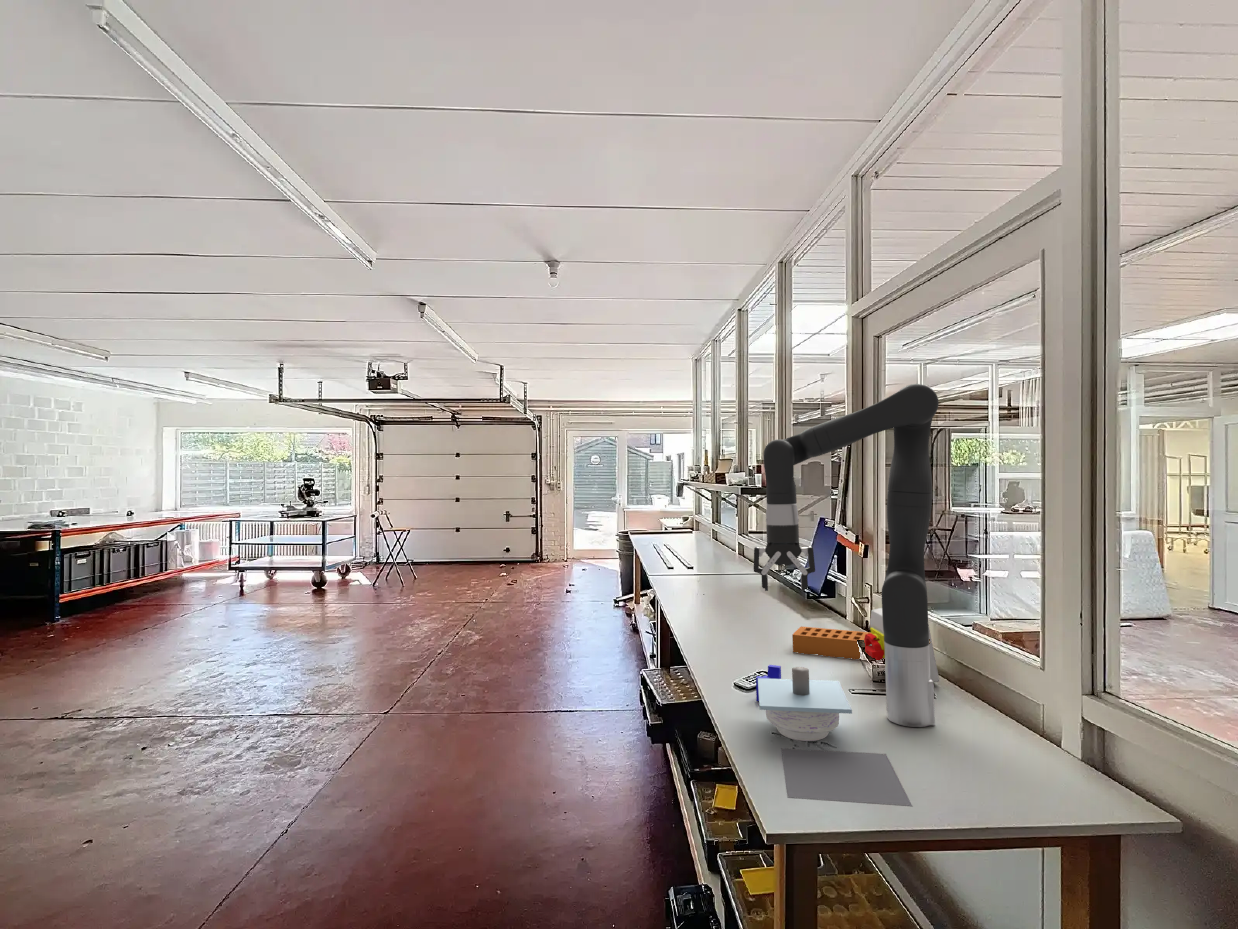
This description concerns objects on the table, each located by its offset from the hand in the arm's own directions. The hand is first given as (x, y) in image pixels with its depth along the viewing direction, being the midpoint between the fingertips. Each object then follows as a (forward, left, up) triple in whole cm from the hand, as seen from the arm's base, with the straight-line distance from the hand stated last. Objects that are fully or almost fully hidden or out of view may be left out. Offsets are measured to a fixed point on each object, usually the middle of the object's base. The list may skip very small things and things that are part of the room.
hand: (784, 590), depth 151 cm
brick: (-18, -51, -29) cm, 61 cm away
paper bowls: (-2, +15, -28) cm, 32 cm away
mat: (-7, +34, -28) cm, 45 cm away
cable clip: (+5, -9, -28) cm, 30 cm away
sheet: (-2, +15, -20) cm, 25 cm away
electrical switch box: (-30, -26, -28) cm, 49 cm away
